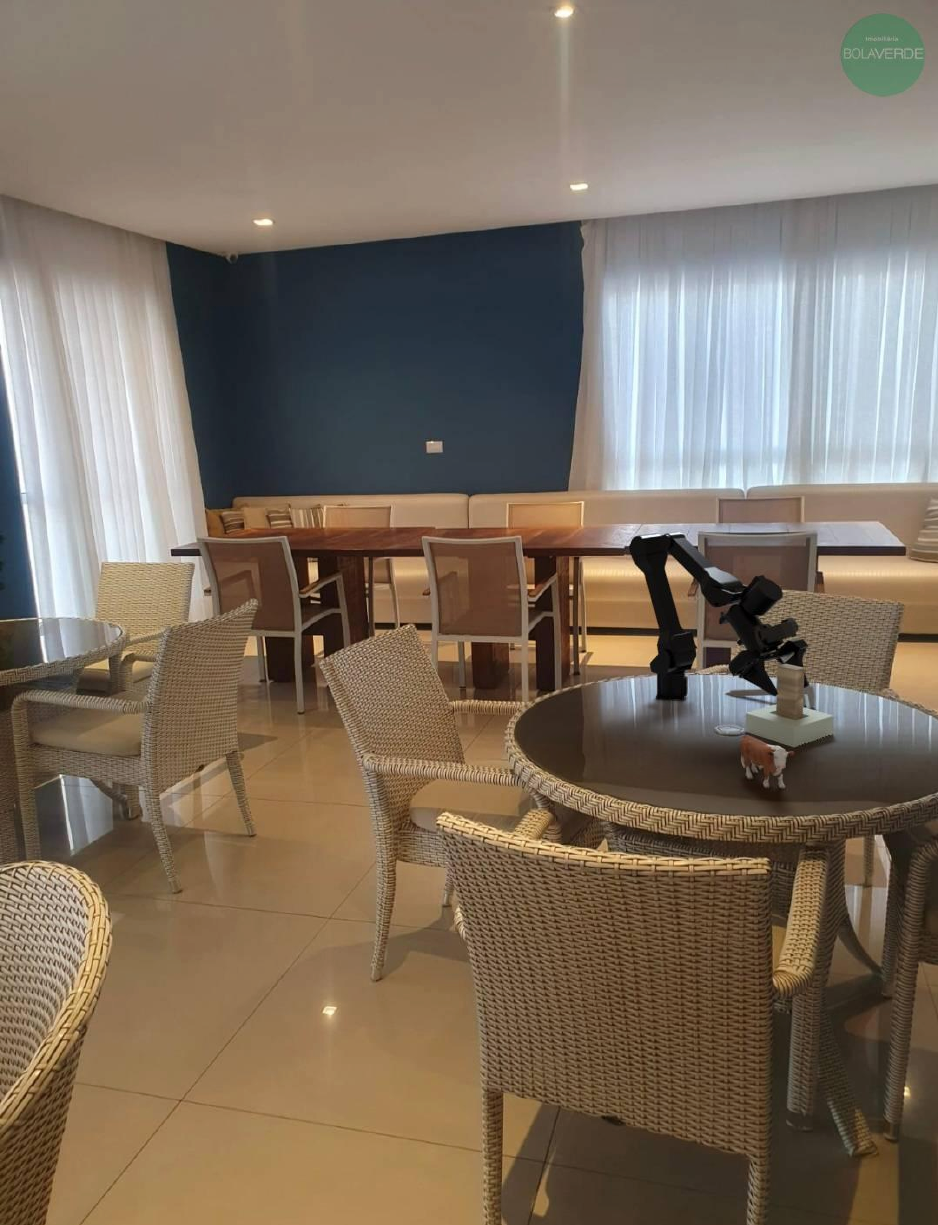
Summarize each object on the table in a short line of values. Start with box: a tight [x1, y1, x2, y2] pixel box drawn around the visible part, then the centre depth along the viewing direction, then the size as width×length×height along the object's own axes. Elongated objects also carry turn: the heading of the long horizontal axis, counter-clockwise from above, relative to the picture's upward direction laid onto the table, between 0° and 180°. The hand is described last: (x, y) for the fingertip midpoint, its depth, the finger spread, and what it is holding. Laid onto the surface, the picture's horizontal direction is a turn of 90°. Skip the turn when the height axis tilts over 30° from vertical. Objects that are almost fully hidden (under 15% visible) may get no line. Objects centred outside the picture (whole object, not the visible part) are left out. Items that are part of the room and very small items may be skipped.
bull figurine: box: [739, 734, 795, 790], centre depth 153 cm, size 4×13×8 cm, turn 14°
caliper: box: [725, 680, 816, 709], centre depth 200 cm, size 20×1×6 cm, turn 50°
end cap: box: [744, 704, 835, 748], centre depth 178 cm, size 12×12×4 cm
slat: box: [775, 664, 805, 720], centre depth 177 cm, size 2×4×13 cm, turn 33°
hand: (791, 691), depth 176 cm, fingers open, 9 cm apart
